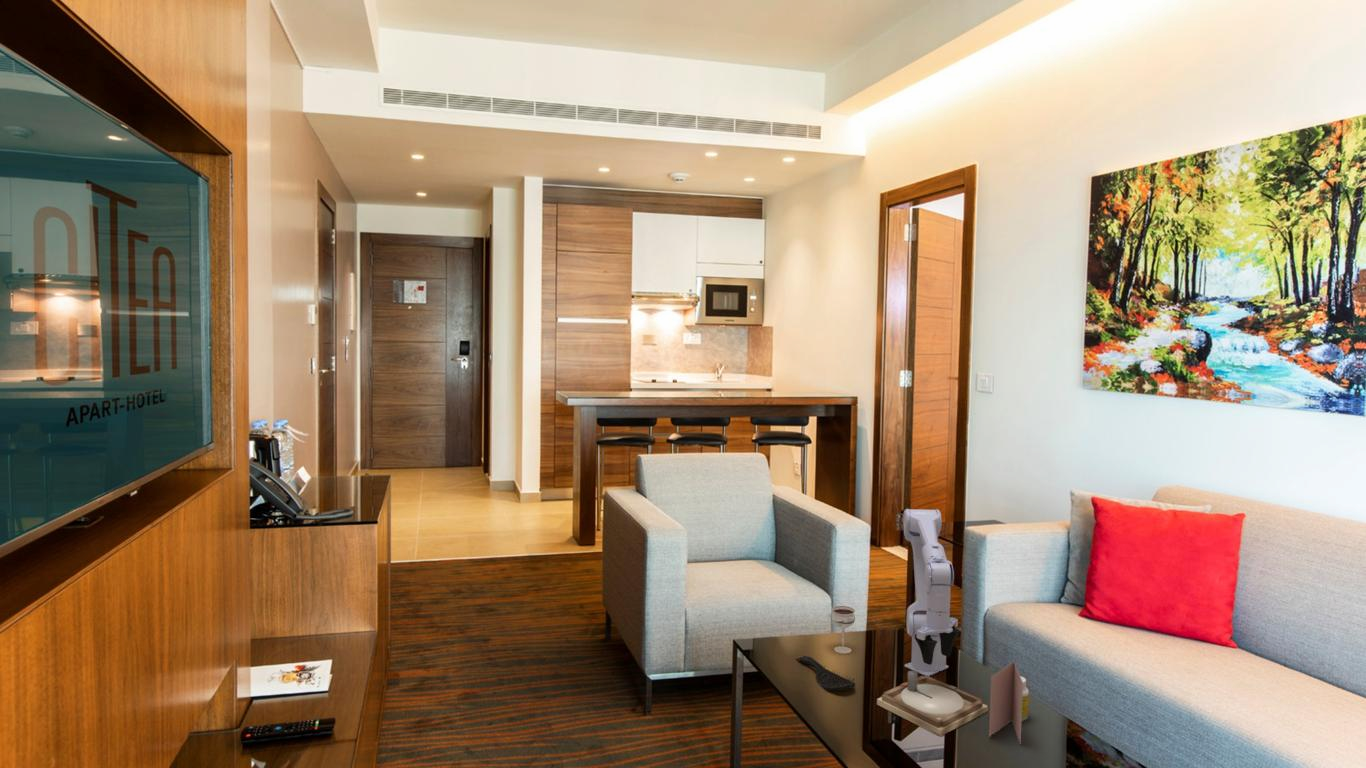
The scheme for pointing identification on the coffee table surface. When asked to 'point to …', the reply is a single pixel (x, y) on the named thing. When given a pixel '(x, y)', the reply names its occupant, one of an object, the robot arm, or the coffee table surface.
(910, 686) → the dial
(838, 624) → the wineglass
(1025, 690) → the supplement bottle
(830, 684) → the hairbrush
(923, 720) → the dial housing
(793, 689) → the coffee table surface
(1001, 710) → the greeting card
